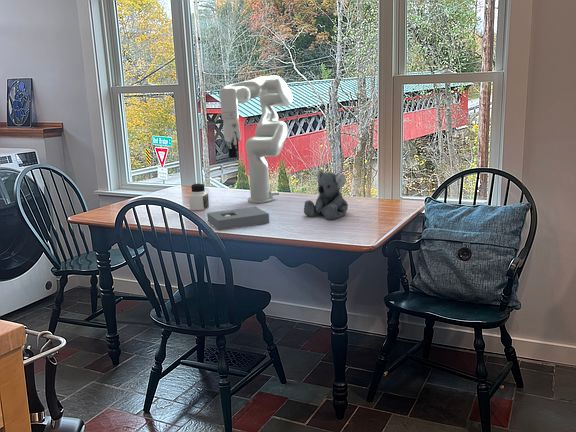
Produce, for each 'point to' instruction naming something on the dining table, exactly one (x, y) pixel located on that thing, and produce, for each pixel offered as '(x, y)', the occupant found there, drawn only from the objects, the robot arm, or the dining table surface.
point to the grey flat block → (238, 218)
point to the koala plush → (328, 197)
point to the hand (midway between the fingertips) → (232, 157)
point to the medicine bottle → (198, 197)
